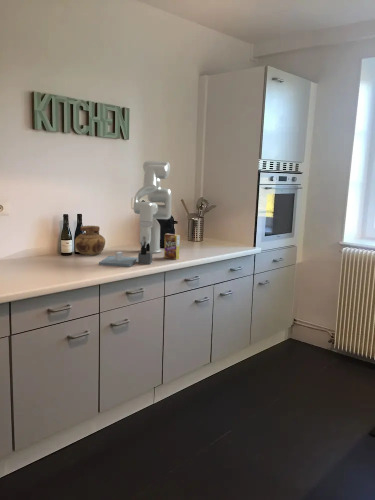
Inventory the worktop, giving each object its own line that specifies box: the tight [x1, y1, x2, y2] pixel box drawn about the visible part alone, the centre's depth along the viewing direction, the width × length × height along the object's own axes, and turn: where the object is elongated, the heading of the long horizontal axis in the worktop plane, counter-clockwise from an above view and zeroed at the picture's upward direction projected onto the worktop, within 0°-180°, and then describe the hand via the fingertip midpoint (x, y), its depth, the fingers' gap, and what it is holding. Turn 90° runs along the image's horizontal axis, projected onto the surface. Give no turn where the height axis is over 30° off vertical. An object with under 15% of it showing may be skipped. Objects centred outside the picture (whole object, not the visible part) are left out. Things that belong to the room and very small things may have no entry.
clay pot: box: [74, 225, 106, 256], centre depth 277 cm, size 19×19×20 cm
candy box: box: [163, 233, 181, 261], centre depth 273 cm, size 9×4×15 cm, turn 60°
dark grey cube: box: [137, 250, 153, 265], centre depth 258 cm, size 7×7×7 cm
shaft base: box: [98, 251, 138, 268], centre depth 256 cm, size 20×18×6 cm
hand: (145, 253), depth 257 cm, fingers open, 9 cm apart
